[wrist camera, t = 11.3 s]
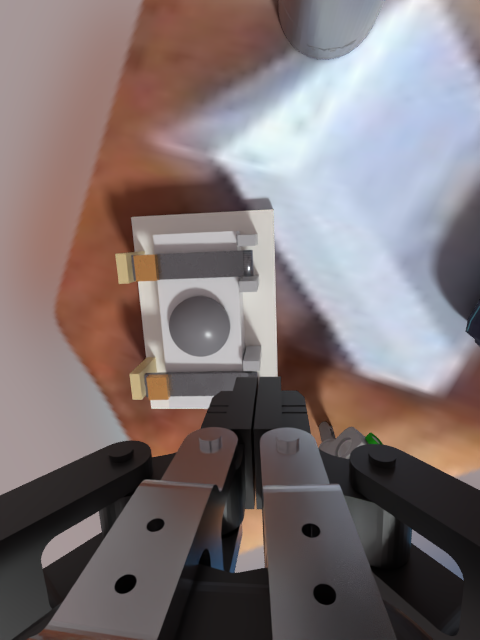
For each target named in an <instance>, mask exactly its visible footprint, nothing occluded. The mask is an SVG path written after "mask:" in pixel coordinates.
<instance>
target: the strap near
mask: <svg viewBox="0 0 480 640" xmlns="http://www.w3.org/2000/svg"><path fill="white" fill-rule="evenodd" d="M131 258H132V267H133V276H134V281H136V282H137V281H158V280H165V279H192V278H218V277H250V276H254V272H253V250H238V251H215V252H192V253H169V254H146V255H131Z"/></svg>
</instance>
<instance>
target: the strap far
mask: <svg viewBox="0 0 480 640" xmlns="http://www.w3.org/2000/svg"><path fill="white" fill-rule="evenodd" d="M236 377H257V371H213V372H159V373H145V374H144V379H145V388H146V397H149V400H168V399H169V398H170V396H215V395H216V394H218V393H219V392H220V391H233V388H234V384H235V381H236Z"/></svg>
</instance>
